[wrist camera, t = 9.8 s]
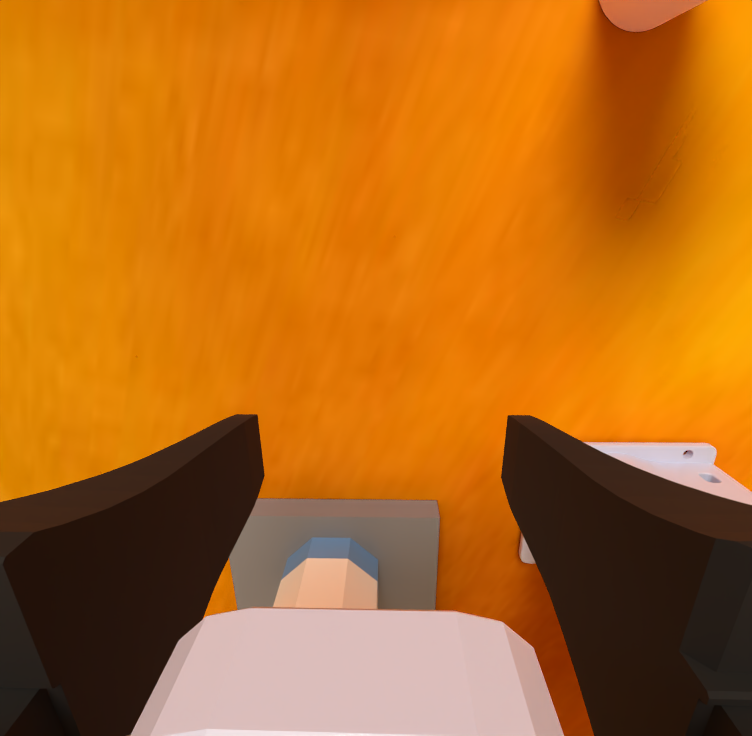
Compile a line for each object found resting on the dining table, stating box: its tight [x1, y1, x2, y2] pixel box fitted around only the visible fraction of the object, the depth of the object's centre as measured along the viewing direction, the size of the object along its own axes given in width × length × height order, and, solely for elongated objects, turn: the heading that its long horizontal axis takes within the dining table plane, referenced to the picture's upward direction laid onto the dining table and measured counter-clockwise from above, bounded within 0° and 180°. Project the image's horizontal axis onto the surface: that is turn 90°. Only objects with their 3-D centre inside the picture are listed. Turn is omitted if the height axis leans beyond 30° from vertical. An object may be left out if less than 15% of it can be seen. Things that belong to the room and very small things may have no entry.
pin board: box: [229, 499, 440, 610], centre depth 24 cm, size 12×20×6 cm, turn 1°
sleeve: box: [273, 537, 378, 609], centre depth 21 cm, size 5×5×6 cm
